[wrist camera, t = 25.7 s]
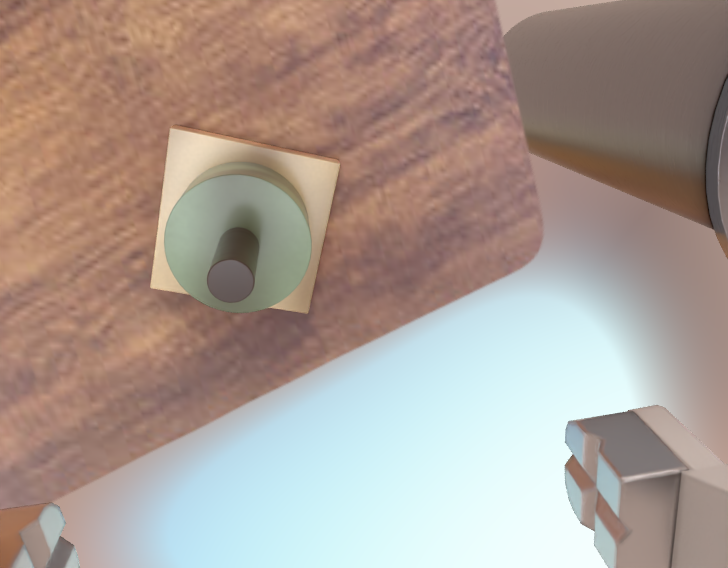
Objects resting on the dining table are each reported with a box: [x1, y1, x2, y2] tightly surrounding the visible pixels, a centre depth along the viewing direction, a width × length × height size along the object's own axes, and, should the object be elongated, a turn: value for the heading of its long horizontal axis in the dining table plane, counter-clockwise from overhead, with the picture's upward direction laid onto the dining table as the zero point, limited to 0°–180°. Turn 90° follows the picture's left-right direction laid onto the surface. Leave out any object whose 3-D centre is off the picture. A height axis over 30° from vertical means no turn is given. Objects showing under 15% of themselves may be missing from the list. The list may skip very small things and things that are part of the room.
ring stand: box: [150, 125, 340, 314], centre depth 34 cm, size 10×10×11 cm
